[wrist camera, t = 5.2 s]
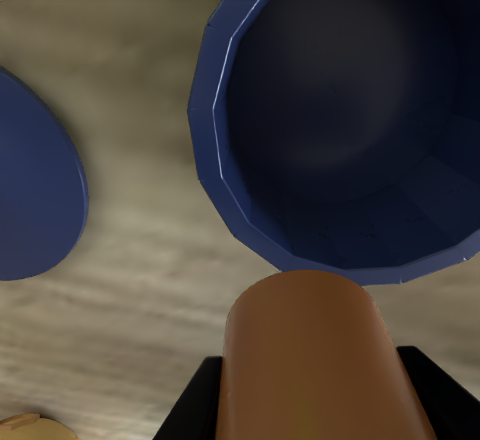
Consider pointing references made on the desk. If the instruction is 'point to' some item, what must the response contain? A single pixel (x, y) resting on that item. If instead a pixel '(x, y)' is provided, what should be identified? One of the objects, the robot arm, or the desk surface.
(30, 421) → the stress ball
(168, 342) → the desk surface
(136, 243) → the desk surface
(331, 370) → the brown cylinder
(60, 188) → the lid
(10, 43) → the desk surface
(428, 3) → the blue short hollow cylinder
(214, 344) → the desk surface
